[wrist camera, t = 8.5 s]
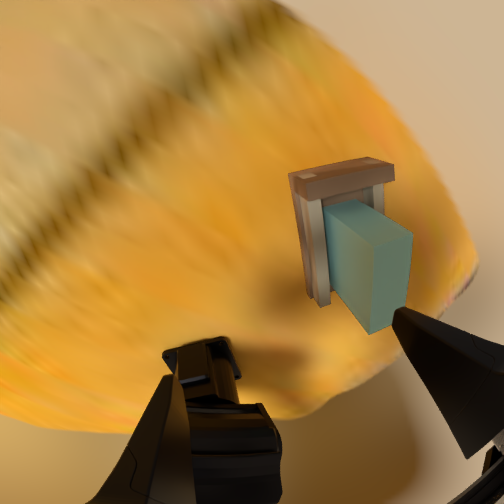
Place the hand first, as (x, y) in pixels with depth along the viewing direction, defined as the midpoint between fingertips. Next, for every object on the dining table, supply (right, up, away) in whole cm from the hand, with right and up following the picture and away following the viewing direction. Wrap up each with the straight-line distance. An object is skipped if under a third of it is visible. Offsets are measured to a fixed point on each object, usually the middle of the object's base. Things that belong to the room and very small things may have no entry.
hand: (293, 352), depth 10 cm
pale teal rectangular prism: (+6, +4, +12) cm, 14 cm away
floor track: (+6, +6, +12) cm, 15 cm away
